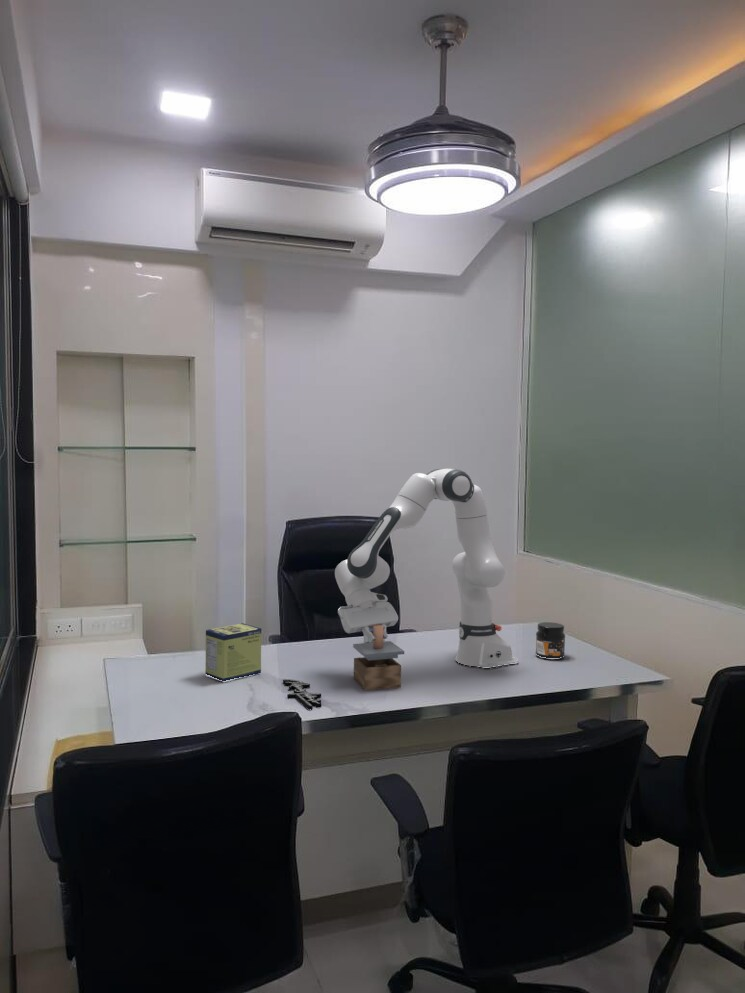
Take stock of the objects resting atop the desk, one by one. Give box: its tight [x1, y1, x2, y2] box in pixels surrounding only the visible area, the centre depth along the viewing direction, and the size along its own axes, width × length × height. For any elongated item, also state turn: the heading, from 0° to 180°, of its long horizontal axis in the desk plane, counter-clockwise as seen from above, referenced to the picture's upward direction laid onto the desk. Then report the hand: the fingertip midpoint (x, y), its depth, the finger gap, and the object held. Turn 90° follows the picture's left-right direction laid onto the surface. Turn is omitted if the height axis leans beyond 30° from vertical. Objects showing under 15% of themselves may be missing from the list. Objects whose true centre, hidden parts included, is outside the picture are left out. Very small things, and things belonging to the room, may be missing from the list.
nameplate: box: [282, 678, 322, 711], centre depth 231 cm, size 27×2×10 cm
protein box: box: [204, 622, 262, 681], centre depth 250 cm, size 10×16×16 cm
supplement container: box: [535, 621, 566, 658], centre depth 279 cm, size 10×10×12 cm
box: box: [353, 656, 402, 691], centre depth 244 cm, size 12×12×7 cm
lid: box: [352, 625, 405, 660], centre depth 243 cm, size 13×13×10 cm
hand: (379, 639), depth 243 cm, fingers closed on lid, 3 cm apart
